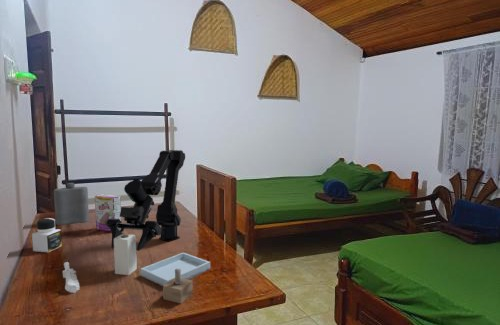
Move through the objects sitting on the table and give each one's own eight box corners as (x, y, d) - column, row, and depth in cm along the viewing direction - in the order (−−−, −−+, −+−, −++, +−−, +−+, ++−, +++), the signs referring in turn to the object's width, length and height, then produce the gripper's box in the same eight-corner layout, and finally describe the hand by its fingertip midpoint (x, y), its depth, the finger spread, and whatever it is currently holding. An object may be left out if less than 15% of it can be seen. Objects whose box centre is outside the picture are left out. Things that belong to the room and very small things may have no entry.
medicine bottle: (48, 252, 129) (46, 222, 128) (32, 251, 131) (30, 221, 129) (62, 246, 136) (60, 217, 135) (47, 245, 137) (45, 216, 136)
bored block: (123, 267, 116) (122, 233, 115) (136, 268, 115) (135, 234, 114) (115, 273, 111) (113, 238, 110) (128, 275, 110) (127, 239, 109)
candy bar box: (95, 230, 157) (93, 195, 155) (103, 227, 162) (101, 193, 160) (114, 232, 153) (113, 197, 152) (122, 229, 158) (121, 195, 156)
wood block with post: (175, 289, 100) (175, 264, 100) (192, 293, 98) (192, 267, 97) (163, 299, 95) (162, 272, 94) (181, 303, 93) (180, 276, 92)
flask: (88, 218, 176) (86, 181, 174) (89, 221, 171) (87, 183, 169) (55, 223, 168) (53, 183, 166) (55, 226, 163) (53, 185, 161)
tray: (183, 258, 124) (183, 252, 123) (210, 269, 115) (210, 262, 115) (140, 275, 110) (140, 268, 109) (167, 288, 101) (167, 280, 101)
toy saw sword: (74, 266, 118) (80, 292, 99) (61, 268, 116) (65, 296, 97) (73, 259, 117) (80, 284, 99) (60, 261, 115) (65, 287, 97)
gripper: (107, 195, 117) (88, 236, 108) (157, 198, 114) (141, 240, 104) (121, 212, 126) (104, 251, 116) (167, 215, 122) (154, 255, 113)
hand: (124, 249), depth 112 cm, fingers open, 9 cm apart
